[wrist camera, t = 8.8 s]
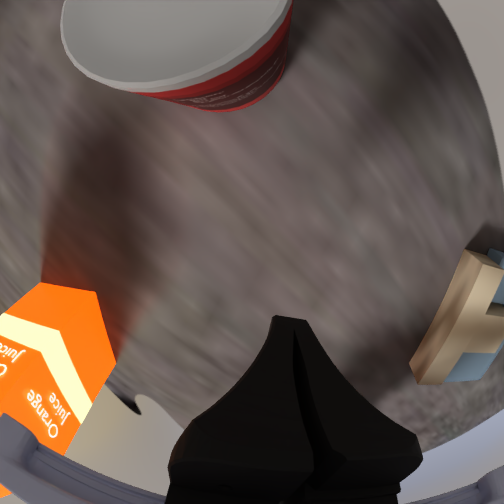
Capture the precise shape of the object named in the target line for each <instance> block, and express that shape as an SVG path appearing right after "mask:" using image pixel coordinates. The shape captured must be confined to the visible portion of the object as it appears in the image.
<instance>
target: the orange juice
mask: <svg viewBox="0 0 504 504" xmlns="http://www.w3.org/2000/svg"><path fill="white" fill-rule="evenodd" d="M115 364H116V361H115V358H114V355H113V352H112V349H111V346H110V343H109V339H108V336H107V333H106V329H105V326H104V322H103V319H102V315H101V311H100V308H99V304H98V300H97V296H96V292H92V291H86V290H80V289H74V288H68V287H62V286H57V285H51V284H46V283H39V284H38V285H37V286H36V287H34V288H33V289H32V290H31V291H29V292H28V293H27V294H26V295H25V296H24V297H22V298H21V299H20V300H19V301H18V302H16V303H15V304H14V305H13V306H12V307H11V308H10V309H8V310H7V311H6V312H5V313H3V314H2V315H1V316H0V416H1V415H2V414H3V413H6V414H8V415H9V416H11V417H12V418H14V419H15V420H17V421H18V422H19V423H21V424H23V425H24V426H25V427H27V428H28V429H29V430H30V431H31V432H32V433H33V434H34V435H35V436H36V437H37V439H38V441H39V442H40V443H41V444H43V445H45V446H47V447H48V448H50V449H52V450H54V451H55V452H57V453H59V454H61V455H63V456H64V454H65V452H66V450H67V448H68V446H69V445H70V443H71V441H72V439H73V437H74V435H75V433H76V432H77V430H78V428H79V426H80V424H82V422H83V420H84V419H85V417H86V415H87V413H88V411H89V410H90V408H91V406H92V403H93V401H94V400H95V398H96V396H97V394H98V393H99V391H100V389H101V388H102V386H103V384H104V383H105V381H106V379H107V378H108V376H109V374H110V373H111V371H112V369H113V368H114V366H115ZM9 494H11V492H10V491H9V490H7V489H6V488H5V487H4V486H2V485H1V484H0V498H1V497H3V496H6V495H9Z"/></svg>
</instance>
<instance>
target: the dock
mask: <svg viewBox="0 0 504 504" xmlns="http://www.w3.org/2000/svg"><path fill="white" fill-rule="evenodd" d="M487 256H488V257H489V258H490V259H492V260H493V261H494V262H495V263H497V264H498V265H499V266H500V267H501V268H503V269H504V253H503V252H501V251H498V250H495V249H492V248H489V251H488V253H487ZM491 302H494V303H500V304H503V306H504V275H503V277H502V280H501V282H500V284H499V286H498V289H497V291H496V293H495V295H494V297H493V299H492V301H491ZM503 344H504V339H503V341H502V343H501V344H500V346H499V347H498V349H497V351H496V352H495V353H467V352H463V353H462V355H461V356H460V358H459V360H458V361H457V363H456V364H455V366H454V367H453V369H452V370H451V372H450V373H449V374H448V376H447V377H446V379H445V380H444V382H455V381H471V380H480V379H481V377H482V376H483V375H484V373H485V372H486V370H487V369H488V367H489V366H490V365H491V363H492V362H493V360H494V359H495V357H496V355H497V354H498V352H499V351H500V349H501V348H502V346H503Z"/></svg>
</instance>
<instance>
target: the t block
mask: <svg viewBox="0 0 504 504" xmlns="http://www.w3.org/2000/svg"><path fill="white" fill-rule="evenodd" d="M503 275H504V269H503V268H501V267H500V266H499V265H498V264H497V263H495V262H494V261H493V260H492V259H490V258H489V257H488V256H486V255H483V254H480V253H477V252H473V251H470V250H467V249H464V251H463V253H462V256H461V259H460V261H459V264H458V266H457V269H456V271H455V274H454V276H453V278H452V281H451V283H450V285H449V288H448V290H447V292H446V294H445V296H444V299H443V301H442V303H441V305H440V307H439V309H438V311H437V313H436V315H435V317H434V319H433V321H432V323H431V325H430V327H429V329H428V331H427V332H426V334H425V336H424V338H423V340H422V342H421V343H420V345H419V347H418V349H417V350H416V352H415V354H414V355H413V357H412V359H411V360H410V362H409V365H410V367H411V370H412V372H413V374H414V377H415V379H416V382H417V384H418V385H436V384H442V383H443V382H444V380H445V379H446V377H447V376H448V374H449V373H450V372H451V370H452V369H453V367H454V366H455V364H456V363H457V361H458V360H459V358H460V356H461V355H462V353H463V352H467V353H495V352H496V351H497V349H498V347H499V346H500V344H501V343H502V341H503V339H504V306H503V305H502V304H500V303H494V302H491V301H492V299H493V297H494V295H495V293H496V291H497V289H498V286H499V284H500V282H501V280H502V277H503Z"/></svg>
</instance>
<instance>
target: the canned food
mask: <svg viewBox="0 0 504 504" xmlns="http://www.w3.org/2000/svg"><path fill="white" fill-rule="evenodd" d="M292 7H293V0H65V2H64V5H63V8H62V14H61V22H60V28H61V39H62V42H63V45H64V48H65V51H66V54H67V55H68V57H69V58H70V59H71V61H72V62H73V64H74V65H75V67H77V68H78V69H79V70H80V71H82V72H83V73H84V74H85V75H86V76H88V77H90V78H92V79H94V80H96V81H98V82H101V83H103V84H106V85H108V86H110V87H112V88H116V89H121V90H125V91H128V92H132V93H136V94H141V95H145V96H149V97H154V98H158V99H162V100H166V101H170V102H174V103H178V104H182V105H186V106H190V107H193V108H197V109H200V110H204V111H211V112H230V111H235V110H239V109H243V108H245V107H248V106H250V105H253V104H255V103H256V102H258V101H259V100H261V99H262V98H264V97H265V96H266V95H267V94H268V93H269V92H270V91H271V90H272V89H273V88H274V87H275V85H276V84H277V82H278V81H279V80H280V77H281V75H282V72H283V70H284V66H285V59H286V52H287V45H288V37H289V30H290V22H291V15H292Z"/></svg>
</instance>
